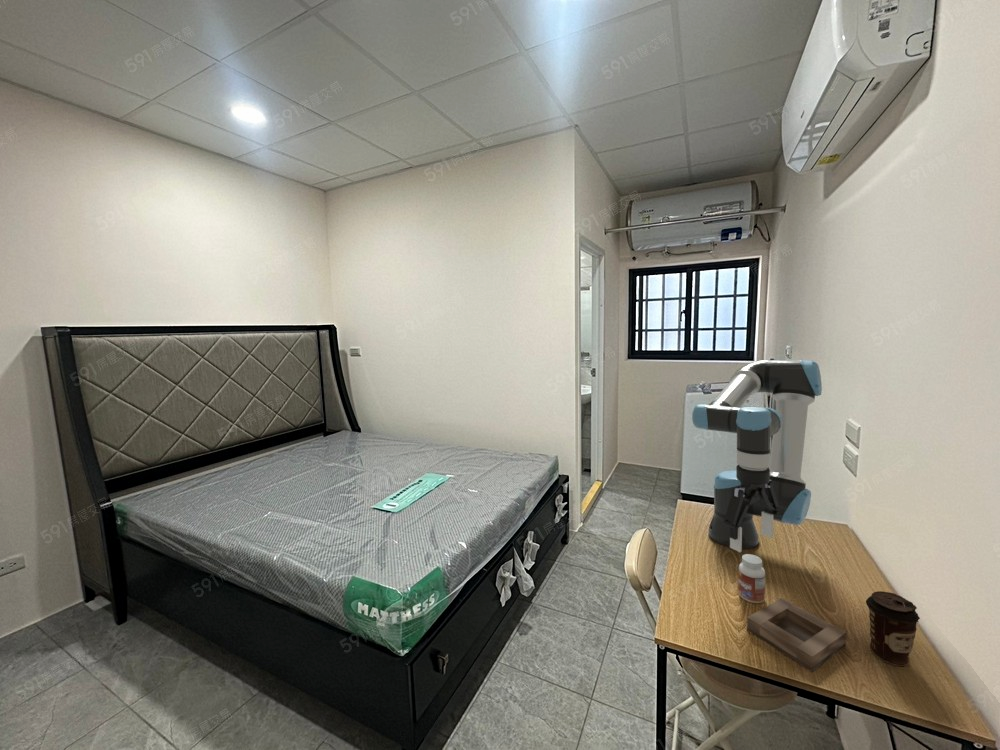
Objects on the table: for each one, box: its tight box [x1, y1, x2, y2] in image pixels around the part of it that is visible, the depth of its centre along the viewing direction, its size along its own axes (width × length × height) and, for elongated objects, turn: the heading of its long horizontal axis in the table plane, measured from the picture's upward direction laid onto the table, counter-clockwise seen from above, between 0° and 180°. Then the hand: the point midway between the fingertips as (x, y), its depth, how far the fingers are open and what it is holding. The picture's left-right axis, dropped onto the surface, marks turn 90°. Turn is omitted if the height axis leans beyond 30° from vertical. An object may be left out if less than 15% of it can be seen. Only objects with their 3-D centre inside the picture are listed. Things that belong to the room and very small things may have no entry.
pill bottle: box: [738, 553, 766, 604], centre depth 111 cm, size 6×6×11 cm
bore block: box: [746, 597, 847, 672], centre depth 96 cm, size 14×14×4 cm
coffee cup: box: [865, 591, 921, 667], centre depth 89 cm, size 9×8×13 cm
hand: (751, 542), depth 109 cm, fingers open, 13 cm apart
